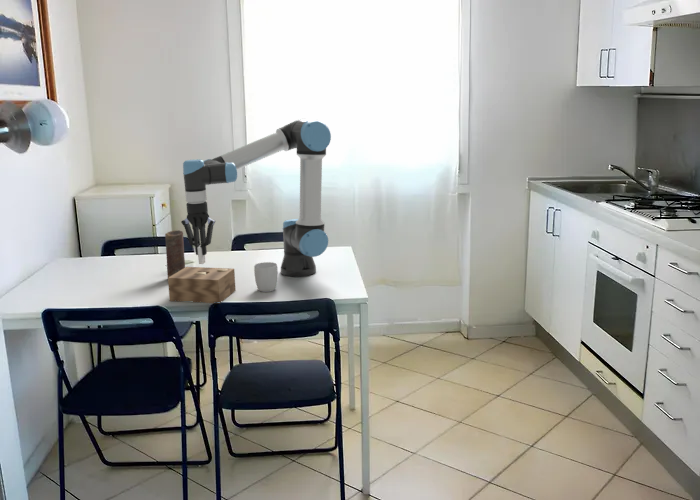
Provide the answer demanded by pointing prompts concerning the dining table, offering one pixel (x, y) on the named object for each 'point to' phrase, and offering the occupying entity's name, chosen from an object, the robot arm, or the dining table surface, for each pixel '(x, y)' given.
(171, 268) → the brown cylindrical vase
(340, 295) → the dining table surface
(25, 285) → the dining table surface
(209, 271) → the socket block
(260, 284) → the mug
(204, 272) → the beech dowel
